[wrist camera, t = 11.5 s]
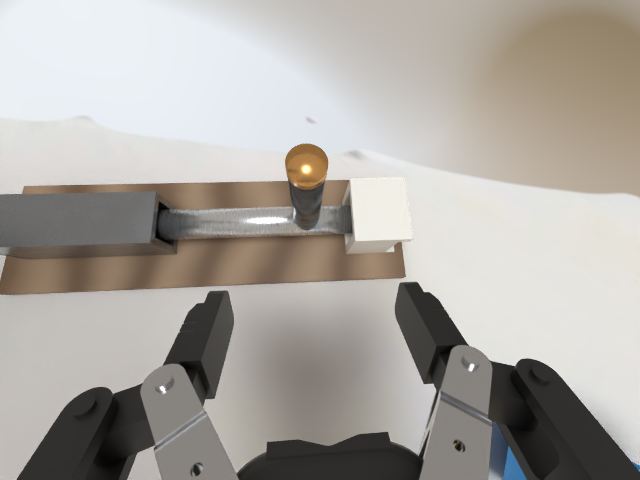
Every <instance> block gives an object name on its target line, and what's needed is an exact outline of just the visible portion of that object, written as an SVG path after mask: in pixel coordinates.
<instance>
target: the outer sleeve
mask: <svg viewBox="0 0 640 480" xmlns="http://www.w3.org/2000/svg"><path fill="white" fill-rule="evenodd" d="M170 209H177V208H176V207H175V206H174V205H172V204H171V203H170V202H169V201H167V200H166V199H165V198H164V197H162V196H161V195H160V194H159V193H157V192H156V191H151V192H102V193H53V194H4V195H0V255H5V256H10V257H16V258H21V259H27V260H31V259H60V258H88V257H117V256H145V255H174V254H177V249H178V239H176V240H159V239H157V238H155V231H156V222H157V213H158V210H170Z"/></svg>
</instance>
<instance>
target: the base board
mask: <svg viewBox="0 0 640 480" xmlns="http://www.w3.org/2000/svg"><path fill="white" fill-rule="evenodd" d="M348 183H349V180H327V181H325V183H324V190H323V196H322V203H321V206H332V205H342V201H343V198H344V195H345V192H346V189H347V186H348ZM151 191H156V192H157V193H159V194H160V195H161V196H162V197H164V198H165V199H166V200H167V201H169V202H170V203H171V204H172V205H174V206H175V207H176V208H177V209H211V208H251V207H292V205H291V197H290V189H289V182H288V181H273V182H220V183H166V184H112V185H59V186H24V189H23V193H22V194H53V193H102V192H151ZM404 277H406V275H405V267H404V259H403V252H402V244H401V242H398V243H396V244H395V245H394V252H390V253H362V254H346V249H345V235H344V234H334V235H302V236H270V237H239V238H207V239H178V249H177V254H174V255H145V256H117V257H88V258H60V259H31V260H27V259H21V258H16V257H10V256H6V260H5V264H4V268H3V272H2V276H1V280H0V294H1V295H17V294H40V293H64V292H87V291H110V290H134V289H157V288H180V287H204V286H227V285H250V284H273V283H297V282H320V281H343V280H367V279H390V278H404Z"/></svg>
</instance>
